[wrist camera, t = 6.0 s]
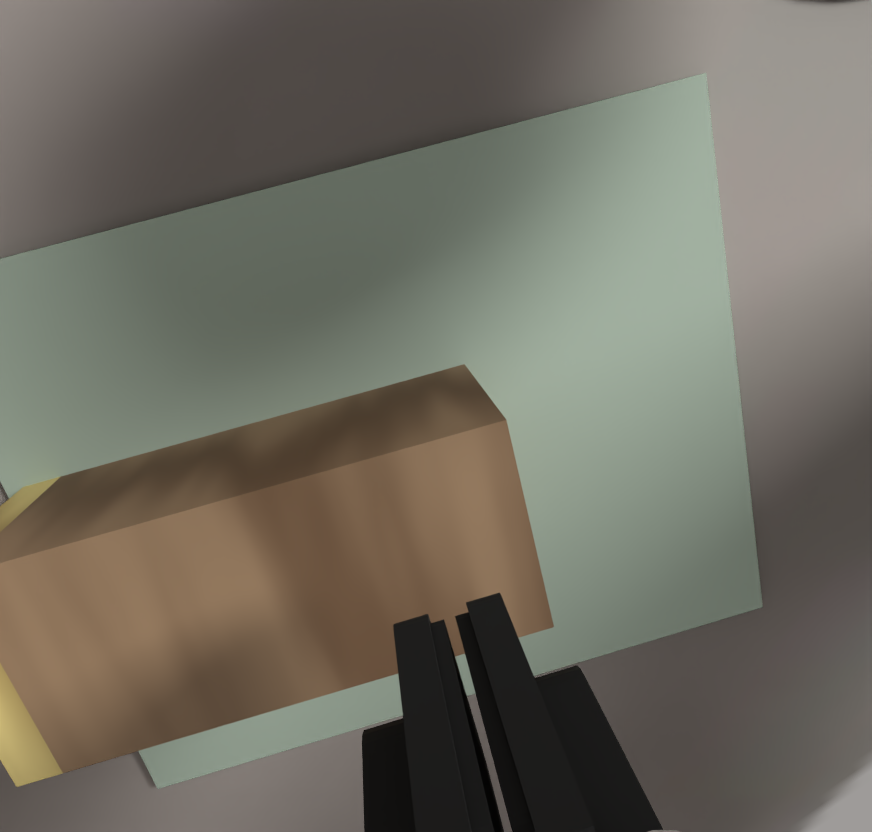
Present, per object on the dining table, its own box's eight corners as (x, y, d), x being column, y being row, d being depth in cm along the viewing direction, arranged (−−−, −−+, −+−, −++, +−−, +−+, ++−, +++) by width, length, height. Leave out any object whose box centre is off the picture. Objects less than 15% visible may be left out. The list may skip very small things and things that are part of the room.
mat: (700, 74, 17) (706, 73, 16) (757, 601, 22) (762, 607, 21) (-93, 283, 16) (-100, 285, 15) (160, 780, 21) (157, 789, 20)
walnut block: (506, 419, 13) (-101, 591, 12) (554, 627, 15) (16, 787, 14) (464, 364, 18) (22, 486, 17) (503, 525, 19) (100, 641, 19)
